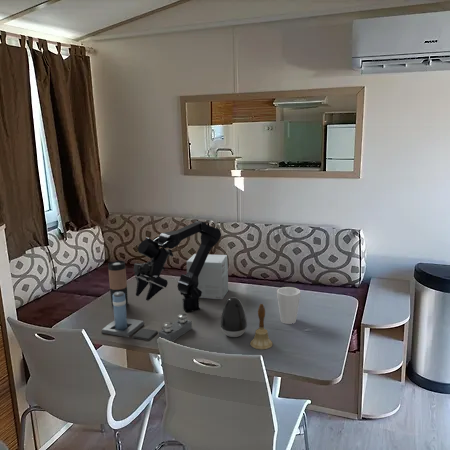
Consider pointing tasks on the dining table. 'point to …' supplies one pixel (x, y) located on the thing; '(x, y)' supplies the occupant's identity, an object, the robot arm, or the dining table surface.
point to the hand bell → (261, 333)
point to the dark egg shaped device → (233, 318)
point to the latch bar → (176, 330)
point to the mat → (145, 334)
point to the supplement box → (212, 276)
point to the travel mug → (117, 278)
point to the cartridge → (120, 311)
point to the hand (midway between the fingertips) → (141, 298)
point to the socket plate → (132, 327)
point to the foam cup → (288, 304)
